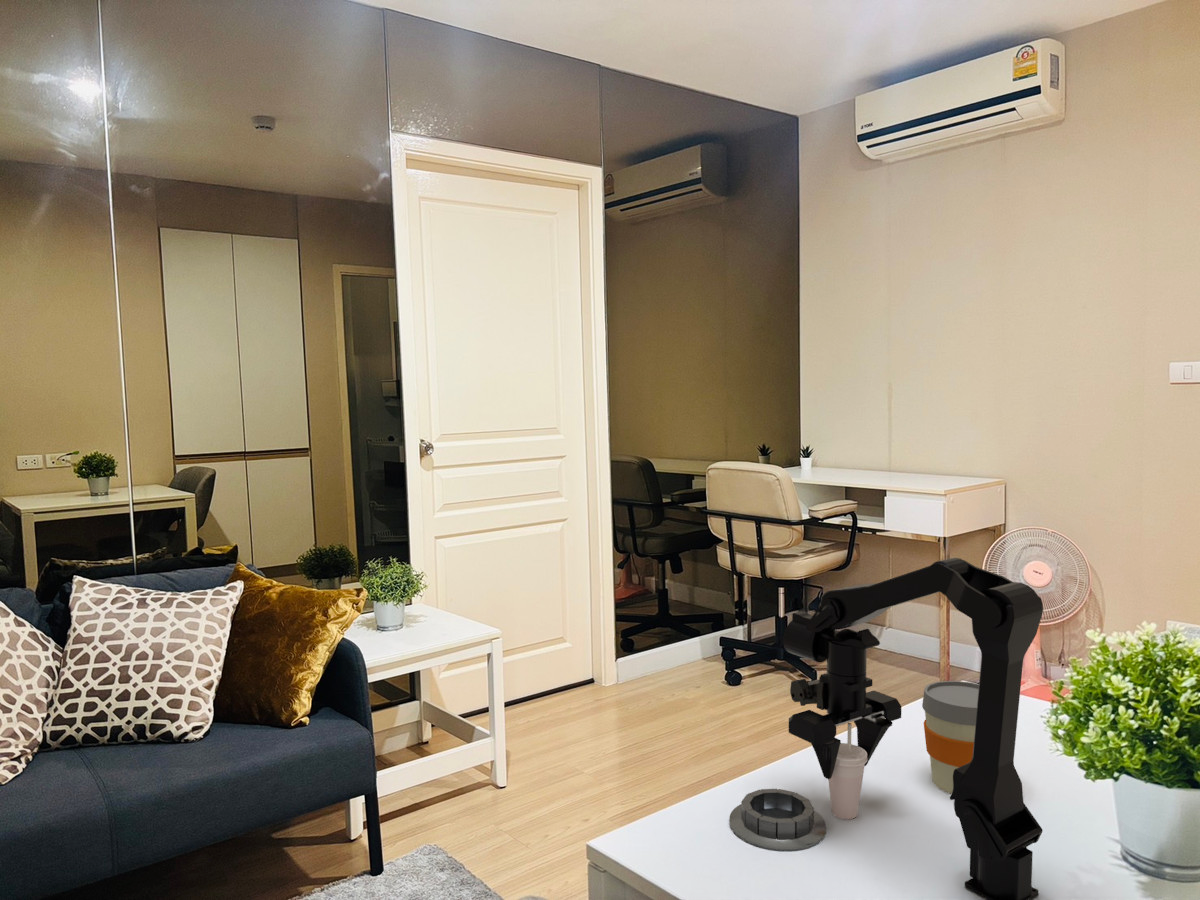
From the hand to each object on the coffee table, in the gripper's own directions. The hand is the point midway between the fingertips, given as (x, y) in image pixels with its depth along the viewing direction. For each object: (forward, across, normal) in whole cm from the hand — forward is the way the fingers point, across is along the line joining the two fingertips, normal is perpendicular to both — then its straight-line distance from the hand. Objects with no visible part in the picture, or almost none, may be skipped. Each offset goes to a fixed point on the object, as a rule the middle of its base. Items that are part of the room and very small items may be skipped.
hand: (845, 771), depth 132 cm
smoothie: (+7, 0, 0) cm, 7 cm away
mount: (+6, +11, -3) cm, 13 cm away
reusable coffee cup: (+7, -23, +4) cm, 24 cm away
